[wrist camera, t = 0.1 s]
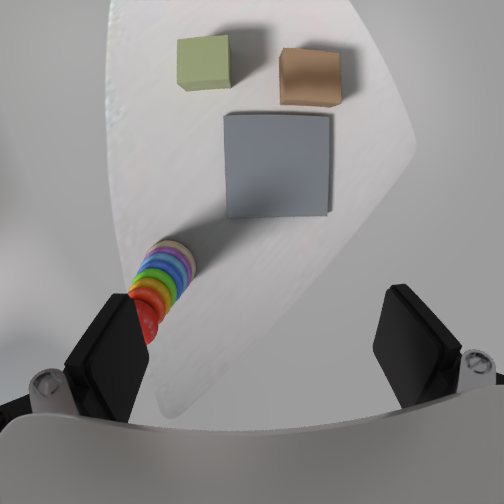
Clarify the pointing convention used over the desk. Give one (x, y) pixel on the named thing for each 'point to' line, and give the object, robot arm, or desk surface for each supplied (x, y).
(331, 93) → the walnut block
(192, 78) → the olive block
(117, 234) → the desk surface
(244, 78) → the desk surface
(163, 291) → the stacking toy
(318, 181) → the baseplate
